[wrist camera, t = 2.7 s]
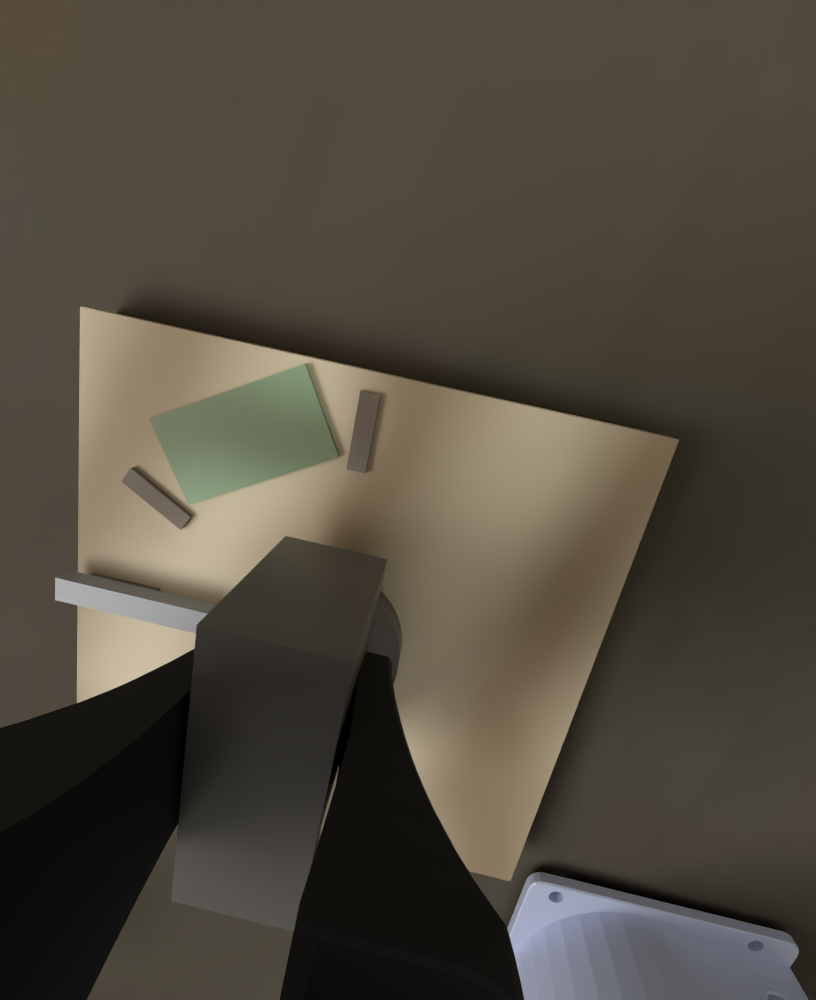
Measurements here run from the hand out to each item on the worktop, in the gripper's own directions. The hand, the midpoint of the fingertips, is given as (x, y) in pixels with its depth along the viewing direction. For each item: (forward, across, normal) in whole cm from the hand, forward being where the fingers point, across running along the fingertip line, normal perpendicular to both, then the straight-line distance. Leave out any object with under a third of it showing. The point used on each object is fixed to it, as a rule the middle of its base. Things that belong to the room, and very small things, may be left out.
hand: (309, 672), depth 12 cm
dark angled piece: (+2, +3, 0) cm, 3 cm away
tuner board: (+3, 0, 0) cm, 3 cm away
